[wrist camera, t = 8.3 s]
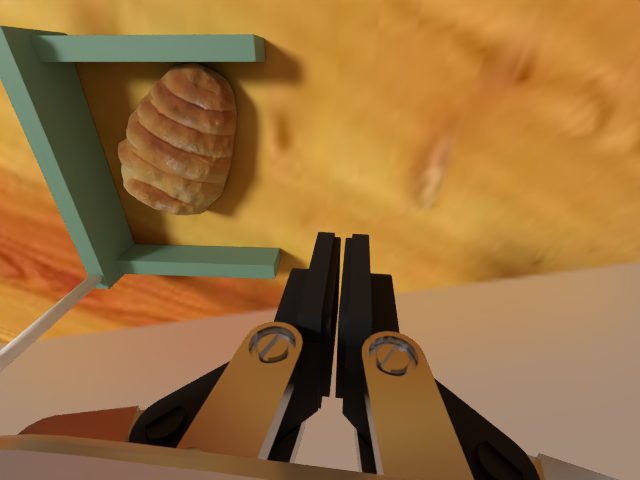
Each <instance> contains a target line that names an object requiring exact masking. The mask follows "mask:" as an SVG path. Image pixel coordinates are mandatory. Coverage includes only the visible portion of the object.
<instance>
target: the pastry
mask: <svg viewBox="0 0 640 480" xmlns="http://www.w3.org/2000/svg"><path fill="white" fill-rule="evenodd" d="M236 122H237V109H236V104H235V98H234V93H233V91H232V88H231V87H230V85H229V83H228V81H227V80H226V79H225V78H224V77H222V76H221V75H220V74H218V73H217V72H215V71H213V70H211V69H209V68H206V67H204V66H202V65H200V64H198V63H195V62H187V63H182V64H180V65H174V66H172V67H171V68H170V69H169V71H168V72H167V73H166V74H165V75H164V76H163V77H162V78H161V79H160V80H159V81H157V82H155V83H153V84H152V86H151V89H150V90H149V92H148V94H147V95H146V96H145V97H144V98H143V99H142V100H141V101H140V102H139V104H138V108H137V110H136V111H134V112H133V113H132V115H130V117H129V120H128V127H127V130H126V136H127V138H126V139H125V140H123V141H121V142H120V143H119V144H118V157H119V160H120V162H121V163H122V164H121V173H122V177H123V180H124V182H123V185H124V187H125V189H126V190H127V192H128V193H130V194H131V195H132V196H134V197H135V198H136V199H137V200H139V201H141V202H143V203H145V204H147V205H148V206H150V207H152V208H154V209H156V210H161V211H167V212H169V213H171V214H176V215H190V214H201V213H203V212H205V211H206V210H207V208H208V207H209V206H210V204H211V203H212V202H214V201H215V200H216V199H217V198H219V197H220V196H221V194H222V192H223V190H224V185H225V182H226V179H227V175H228V172H229V169H230V166H231V162H232V154H233V146H234V138H235V130H236Z"/></svg>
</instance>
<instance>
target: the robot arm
mask: <svg viewBox="0 0 640 480" xmlns="http://www.w3.org/2000/svg"><path fill="white" fill-rule="evenodd" d="M340 247H341V237H335V233H327V232H318V236H317V239H316V243H315V247H314V251H313V255H312V259H311V263H310V267H309V269H298V268H293V269H292V270H291V272H290V275H289V278H288V281H287V284H286V287H285V290H284V293H283V296H282V299H281V302H280V305H279V308H278V311H277V314H276V317H275V320H274V322H270V323H265V324H262V325H260V326H257V327H256V328H254V329H253V330H252V331H250V332H249V334H248V335H247V336H246V337H245V339H244V340H243V342H242V343H241V345H240V347H239V348H238V350H237V351H236V353H235V354H234V356H233V358H232V359H231V361H229V362H228V363H226V364H224V365H222V366H220V367H218V368H217V369H215V370H213V371H211V372H209V373H207V374H206V375H204V376H202V377H200V378H199V379H197V380H195V381H193V382H191V383H190V384H187V385H186V386H184V387H182V388H180V389H179V390H177V391H175V392H173V393H171V394H169V395H168V396H166V397H164V398H162V399H160V400H158V401H157V402H156V403H154V404H153V405H151V406H150V407H148V408H147V409H146V410H140V408H139V406H133V407H124V408H116V409H107V410H98V411H89V412H81V413H72V414H63V415H55V416H51V417H47V418H43V419H41V420H39V421H37V422H35V423H33V424H31V425H29V426H28V427H26V428H25V429H24V430H22V431H21V432H20V433H19V434H17V435H3V436H0V480H618V479H615V478H612V477H609V476H606V475H603V474H600V473H597V472H594V471H591V470H588V469H585V468H582V467H579V466H576V465H573V464H570V463H567V462H564V461H561V460H558V459H555V458H552V457H549V456H546V455H543V454H540V453H539V454H538V456H537V457H533V456H530V455H527V454H526V453H525V452H524V451H523V450H522V449H521V448H520V447H519V446H518V445H517V444H516V443H515V442H514V441H512V440H511V439H510V438H509V437H508V436H506V435H505V434H504V433H502V432H501V431H500V430H499V429H497V428H496V427H495V426H494V425H492V424H491V423H490V422H489V421H487V420H486V419H485V418H484V417H482V416H481V415H479V413H477V412H476V411H475V410H473V409H472V408H471V407H470V406H469V405H467V404H466V403H465V402H463V401H462V400H461V399H459V398H458V397H457V396H456V395H455V394H453V393H452V392H451V391H450V390H448V389H447V388H446V387H445V386H443V385H442V384H441V383H439V382H438V381H437V380H436V379H435V378H434V377H433V375H432V372H431V370H430V367H429V365H428V362H427V360H426V357H425V355H424V353H423V351H422V349H421V348H420V346H419V345H418V344H417V343H416V342H415V341H413V340H412V339H411V338H409V337H407V336H405V335H403V334H400V333H399V326H398V319H397V311H396V305H395V297H394V290H393V282H392V276H391V275H387V274H372V273H370V251H369V235H363V234H353V235H352V238H346V242H345V252H344V263H343V274H342V285H341V296H340V307H339V321H338V345H337V371H336V396H335V397H336V398H343V412H342V413H343V414H344V416H345V417H346V418H347V419H348V420H349V421H350V422H351V424H352V425H353V426H354V427H355V432H354V435H355V442H356V451H357V459H358V467H359V472H355V471H347V470H339V469H331V468H324V467H317V466H309V465H301V464H294V462H295V458H296V455H297V452H298V449H299V445H300V442H301V439H302V435H303V432H304V429H305V423H306V419H308V418H309V417H310V416H312V415H313V414H314V413H315V412H317V411H318V408H321V403H322V396H325V397H329V395H330V386H331V375H332V365H333V355H334V345H335V335H336V324H337V314H338V301H339V274H340Z"/></svg>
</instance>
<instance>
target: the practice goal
mask: <svg viewBox="0 0 640 480" xmlns="http://www.w3.org/2000/svg"><path fill="white" fill-rule="evenodd" d="M74 62H266V61H265V47H264V38H262V37H259V36H256V35H65V34H64V33H59V32H50V31H42V30H33V29H24V28H16V27H7V26H0V79H1V81H2V83H3V85H4V88H5V90H6V92H7V94H8V97H9V99H10V101H11V103H12V106H13V108H14V110H15V112H16V115H17V117H18V119H19V121H20V124H21V126H22V128H23V130H24V133H25V135H26V137H27V139H28V142H29V144H30V146H31V148H32V151H33V153H34V155H35V157H36V160H37V162H38V164H39V166H40V169H41V171H42V173H43V175H44V178H45V180H46V182H47V184H48V187H49V189H50V191H51V193H52V196H53V198H54V200H55V202H56V205H57V207H58V209H59V211H60V214H61V216H62V218H63V220H64V223H65V225H66V227H67V229H68V232H69V234H70V236H71V238H72V241H73V243H74V245H75V247H76V250H77V252H78V254H79V256H80V259H81V261H82V263H83V265H84V268H85V270H86V272H87V274H88V277H87V278H86V279H85V280H84V281H83V282H81V283H80V284H79V285H78V286H77V287H75V288H74V289H73V290H72V291H71V292H70V293H68V294H67V295H66V296H65V297H64V298H62V299H61V300H60V301H59V302H58V303H56V304H55V305H54V306H53V307H52V308H50V309H49V310H48V311H47V312H46V313H44V314H43V315H42V316H41V317H40V318H39V319H37V320H36V321H35V322H34V323H33V324H31V325H30V326H29V327H28V328H27V329H25V330H24V331H23V332H22V333H21V334H19V335H18V336H17V337H16V338H15V339H13V340H12V341H11V342H10V343H9V344H8V345H6V346H5V347H4V348H3V349H2V350H0V372H1V371H2V370H4V369H5V368H6V367H7V366H8V365H9V364H10V363H11V362H12V361H14V360H15V359H16V358H17V357H18V356H19V355H20V354H21V353H22V352H24V351H25V350H26V349H27V348H28V347H29V346H30V345H31V344H32V343H34V342H35V341H36V340H37V339H38V338H39V337H40V336H41V335H42V334H44V333H45V332H46V331H47V330H48V329H49V328H50V327H51V326H52V325H53V324H55V323H56V322H57V321H58V320H59V319H60V318H61V317H62V316H63V315H65V314H66V313H67V312H68V311H69V310H70V309H71V308H72V307H73V306H75V305H76V304H77V303H78V302H79V301H80V300H81V299H82V298H83V297H84V296H86V295H87V294H88V293H89V292H90V291H91V290H92V289H93V288H102V289H110V288H111V287H112V286H113V285H114V284H115V283H116V282H117V281H118V280H119V279H120V278H121V277H122V276H123V275H124V274H147V275H176V276H205V277H233V278H262V279H275V276H276V273H277V270H278V267H279V263H280V250H279V248H254V247H221V246H187V245H154V244H135V243H134V240H133V237H132V234H131V231H130V228H129V225H128V222H127V219H126V216H125V213H124V210H123V207H122V204H121V201H120V198H119V195H118V192H117V189H116V186H115V184H114V181H113V178H112V175H111V172H110V169H109V166H108V163H107V160H106V157H105V154H104V151H103V148H102V145H101V142H100V139H99V136H98V133H97V130H96V127H95V124H94V121H93V118H92V115H91V112H90V109H89V106H88V103H87V100H86V97H85V94H84V91H83V88H82V85H81V82H80V79H79V76H78V73H77V70H76V67H75V64H74Z"/></svg>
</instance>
